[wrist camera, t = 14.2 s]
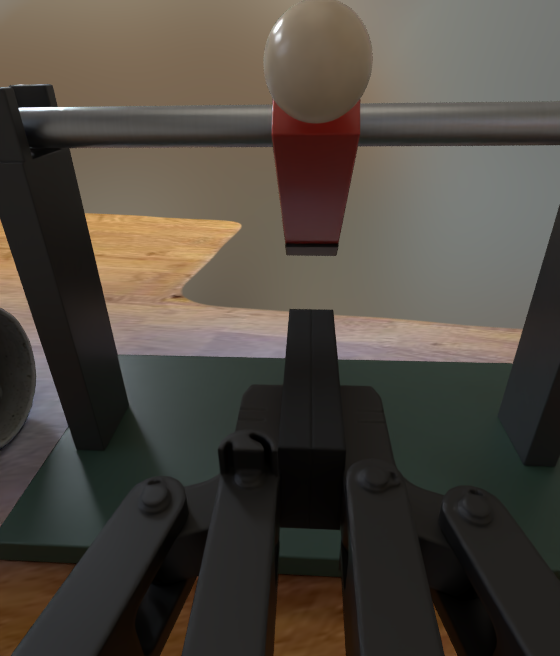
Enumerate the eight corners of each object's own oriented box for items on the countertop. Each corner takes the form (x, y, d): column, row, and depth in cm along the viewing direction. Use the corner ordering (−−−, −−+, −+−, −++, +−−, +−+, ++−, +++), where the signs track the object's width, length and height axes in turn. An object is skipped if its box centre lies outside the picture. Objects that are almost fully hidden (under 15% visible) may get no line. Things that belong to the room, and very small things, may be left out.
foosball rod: (66, 260, 28) (-229, 82, 12) (72, 205, 28) (-202, -30, 13) (501, 264, 26) (776, 66, 11) (498, 205, 27) (755, -61, 11)
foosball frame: (-2, 560, 19) (-249, 99, 10) (120, 368, 31) (52, 81, 22) (642, 593, 18) (988, 82, 9) (507, 377, 30) (597, 72, 21)
